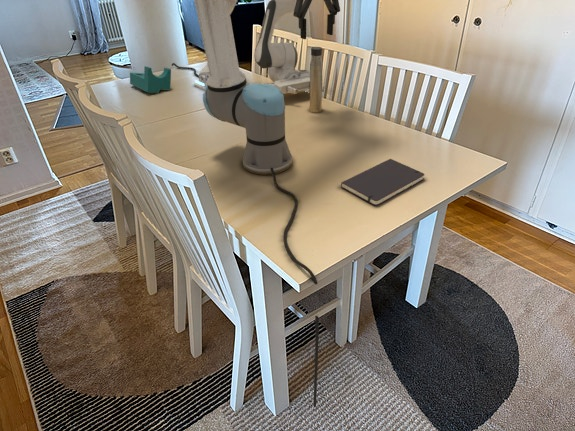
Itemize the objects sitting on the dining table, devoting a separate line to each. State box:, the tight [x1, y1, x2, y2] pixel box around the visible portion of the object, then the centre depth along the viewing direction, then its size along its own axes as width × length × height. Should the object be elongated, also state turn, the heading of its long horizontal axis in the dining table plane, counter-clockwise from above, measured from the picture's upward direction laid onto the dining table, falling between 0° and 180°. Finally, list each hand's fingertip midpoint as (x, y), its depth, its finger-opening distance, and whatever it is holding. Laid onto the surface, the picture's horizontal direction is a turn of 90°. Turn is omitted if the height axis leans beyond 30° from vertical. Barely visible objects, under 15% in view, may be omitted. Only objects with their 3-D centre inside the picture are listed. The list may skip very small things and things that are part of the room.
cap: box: [310, 46, 323, 57], centre depth 148 cm, size 4×4×2 cm
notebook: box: [340, 158, 425, 206], centre depth 114 cm, size 13×2×21 cm
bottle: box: [309, 56, 324, 114], centre depth 154 cm, size 5×5×23 cm
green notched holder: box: [129, 65, 172, 94], centre depth 185 cm, size 18×11×10 cm, turn 43°
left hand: (306, 89), depth 163 cm, fingers open, 8 cm apart
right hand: (316, 36), depth 145 cm, fingers open, 10 cm apart
